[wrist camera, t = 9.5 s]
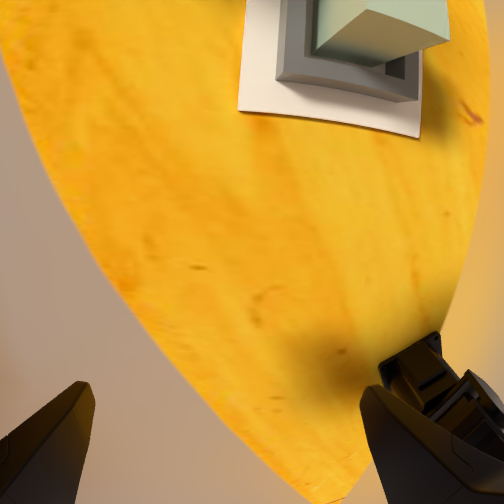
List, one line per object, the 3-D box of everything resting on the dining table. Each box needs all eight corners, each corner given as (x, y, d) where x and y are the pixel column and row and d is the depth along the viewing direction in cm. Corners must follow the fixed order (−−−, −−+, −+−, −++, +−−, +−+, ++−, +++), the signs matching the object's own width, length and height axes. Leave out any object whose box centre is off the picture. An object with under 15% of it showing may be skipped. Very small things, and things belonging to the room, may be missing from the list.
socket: (415, -9, 14) (436, -21, 11) (415, 137, 18) (441, 140, 16) (251, -50, 13) (256, -72, 10) (237, 110, 17) (240, 105, 14)
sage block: (372, 15, 15) (441, -29, 7) (371, 67, 16) (450, 40, 9) (312, 0, 14) (362, -62, 7) (310, 54, 16) (366, 8, 8)
